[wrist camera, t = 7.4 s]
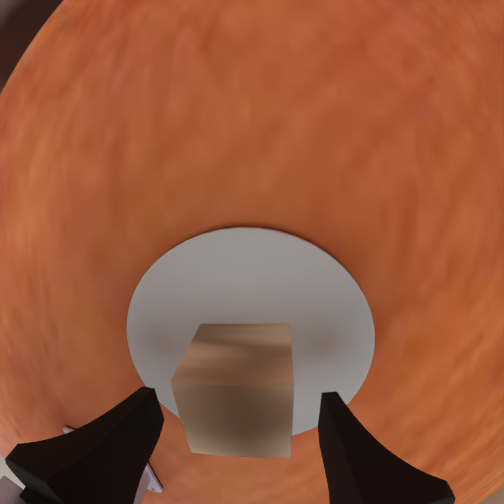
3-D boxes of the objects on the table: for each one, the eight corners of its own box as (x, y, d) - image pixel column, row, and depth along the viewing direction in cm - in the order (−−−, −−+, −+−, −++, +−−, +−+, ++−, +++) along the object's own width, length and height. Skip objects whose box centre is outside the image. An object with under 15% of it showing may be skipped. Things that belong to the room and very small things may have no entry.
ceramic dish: (160, 420, 18) (155, 430, 17) (117, 232, 15) (106, 236, 14) (352, 422, 17) (355, 434, 16) (377, 221, 14) (385, 224, 13)
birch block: (211, 389, 15) (190, 452, 10) (201, 323, 14) (170, 381, 10) (288, 390, 15) (290, 457, 10) (289, 322, 14) (294, 385, 9)
